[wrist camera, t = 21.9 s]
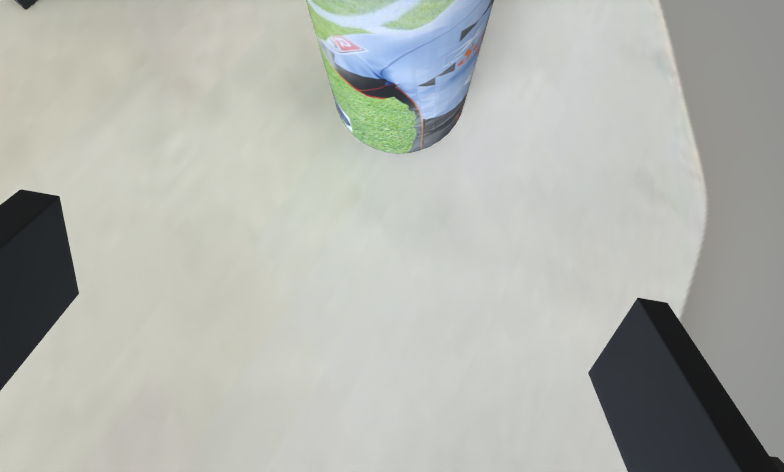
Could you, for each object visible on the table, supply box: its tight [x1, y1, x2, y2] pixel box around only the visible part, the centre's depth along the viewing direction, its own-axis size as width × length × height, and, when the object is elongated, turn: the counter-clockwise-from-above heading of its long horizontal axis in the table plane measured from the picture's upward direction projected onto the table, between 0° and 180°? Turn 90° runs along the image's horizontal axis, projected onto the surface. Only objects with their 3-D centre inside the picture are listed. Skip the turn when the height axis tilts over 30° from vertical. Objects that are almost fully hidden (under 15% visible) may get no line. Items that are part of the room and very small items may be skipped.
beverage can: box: [306, 0, 494, 153], centre depth 18 cm, size 6×7×12 cm
